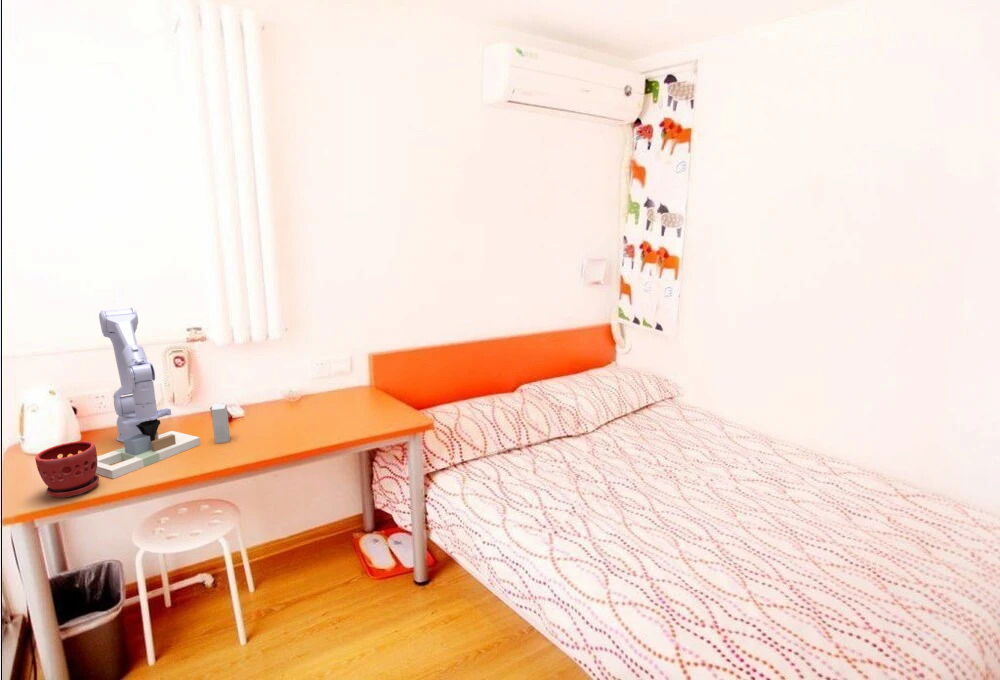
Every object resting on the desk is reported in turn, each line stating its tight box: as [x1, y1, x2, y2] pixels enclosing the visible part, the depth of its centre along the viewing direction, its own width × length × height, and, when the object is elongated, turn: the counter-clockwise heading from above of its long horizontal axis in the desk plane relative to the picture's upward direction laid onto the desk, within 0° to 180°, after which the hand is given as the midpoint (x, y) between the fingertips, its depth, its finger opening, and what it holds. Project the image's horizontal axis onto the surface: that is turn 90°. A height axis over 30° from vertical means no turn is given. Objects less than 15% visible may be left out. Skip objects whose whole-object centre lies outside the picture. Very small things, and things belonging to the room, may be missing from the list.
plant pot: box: [34, 440, 100, 498], centre depth 155 cm, size 13×13×12 cm
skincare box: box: [210, 402, 231, 444], centre depth 190 cm, size 6×4×12 cm
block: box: [123, 433, 151, 456], centre depth 175 cm, size 5×5×4 cm
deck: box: [95, 430, 202, 480], centre depth 177 cm, size 14×28×6 cm, turn 155°
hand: (150, 443), depth 179 cm, fingers closed
